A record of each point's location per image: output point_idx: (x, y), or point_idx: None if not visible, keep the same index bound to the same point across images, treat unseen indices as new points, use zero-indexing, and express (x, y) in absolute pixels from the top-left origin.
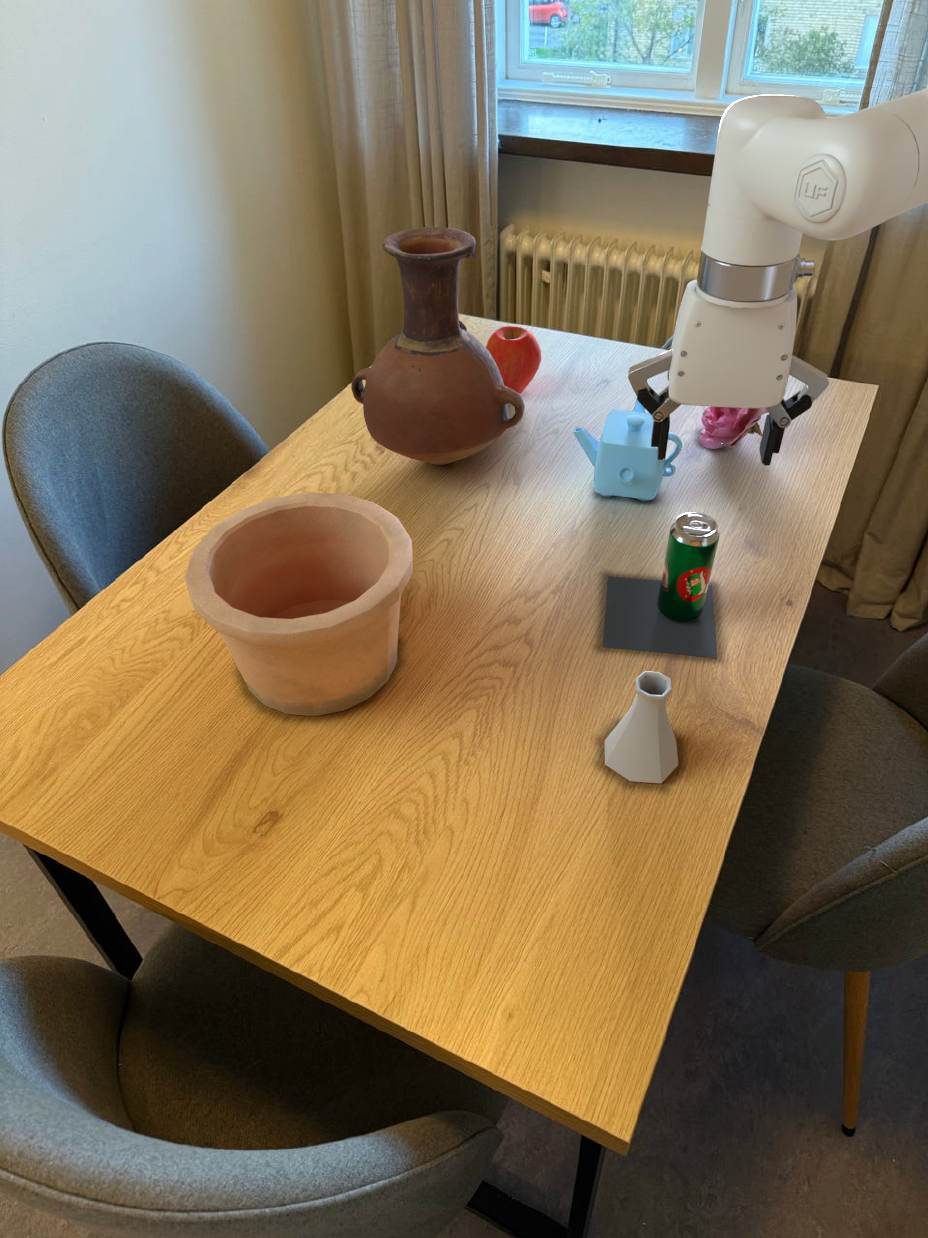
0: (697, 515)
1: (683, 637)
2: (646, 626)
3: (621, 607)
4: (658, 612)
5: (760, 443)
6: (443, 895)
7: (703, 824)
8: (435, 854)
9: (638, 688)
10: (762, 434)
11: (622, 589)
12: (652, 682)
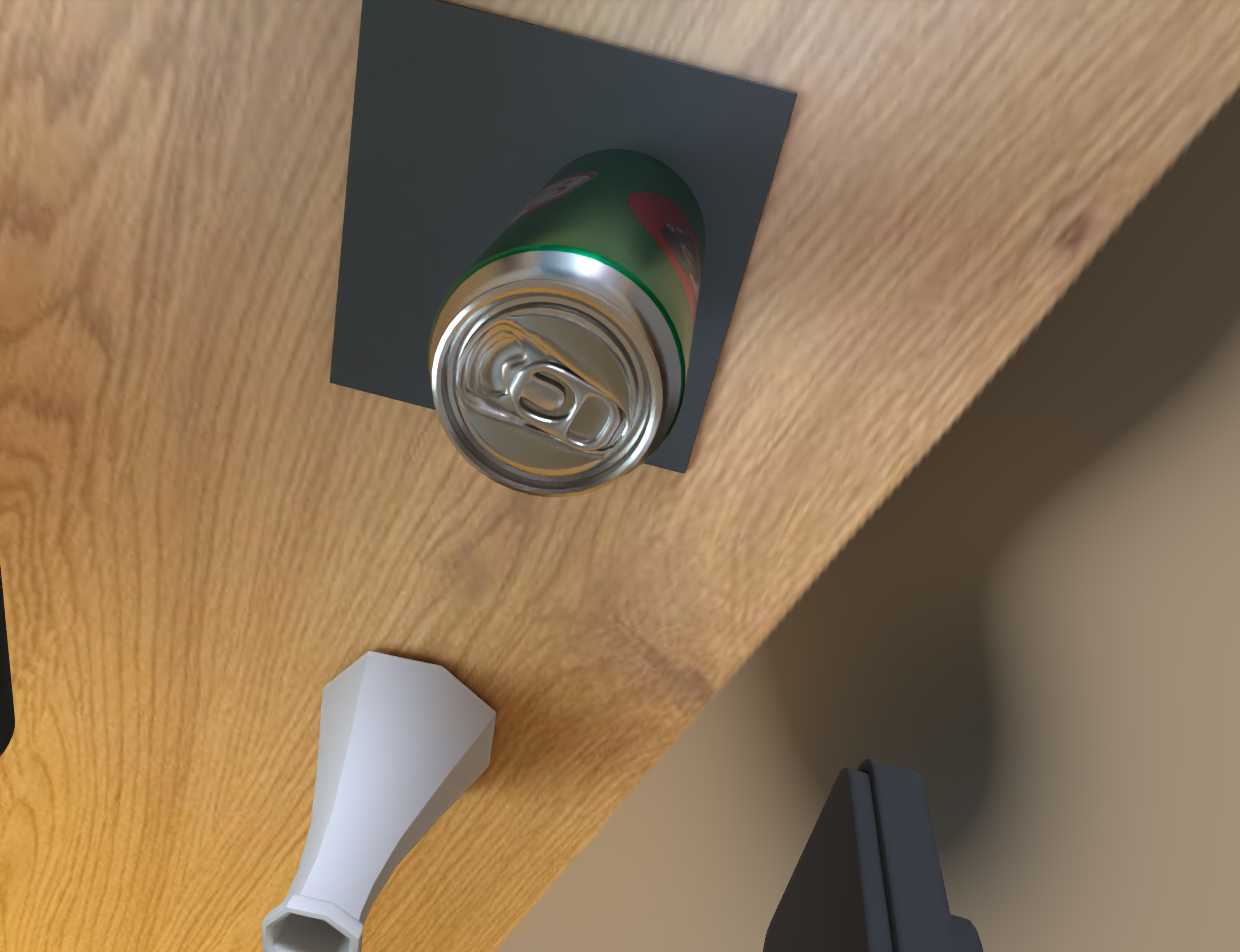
0: (569, 320)
1: None
2: None
3: (405, 196)
4: None
5: (851, 798)
6: (47, 899)
7: (517, 870)
8: (13, 841)
9: (267, 948)
10: (858, 887)
11: (417, 86)
12: (326, 890)
